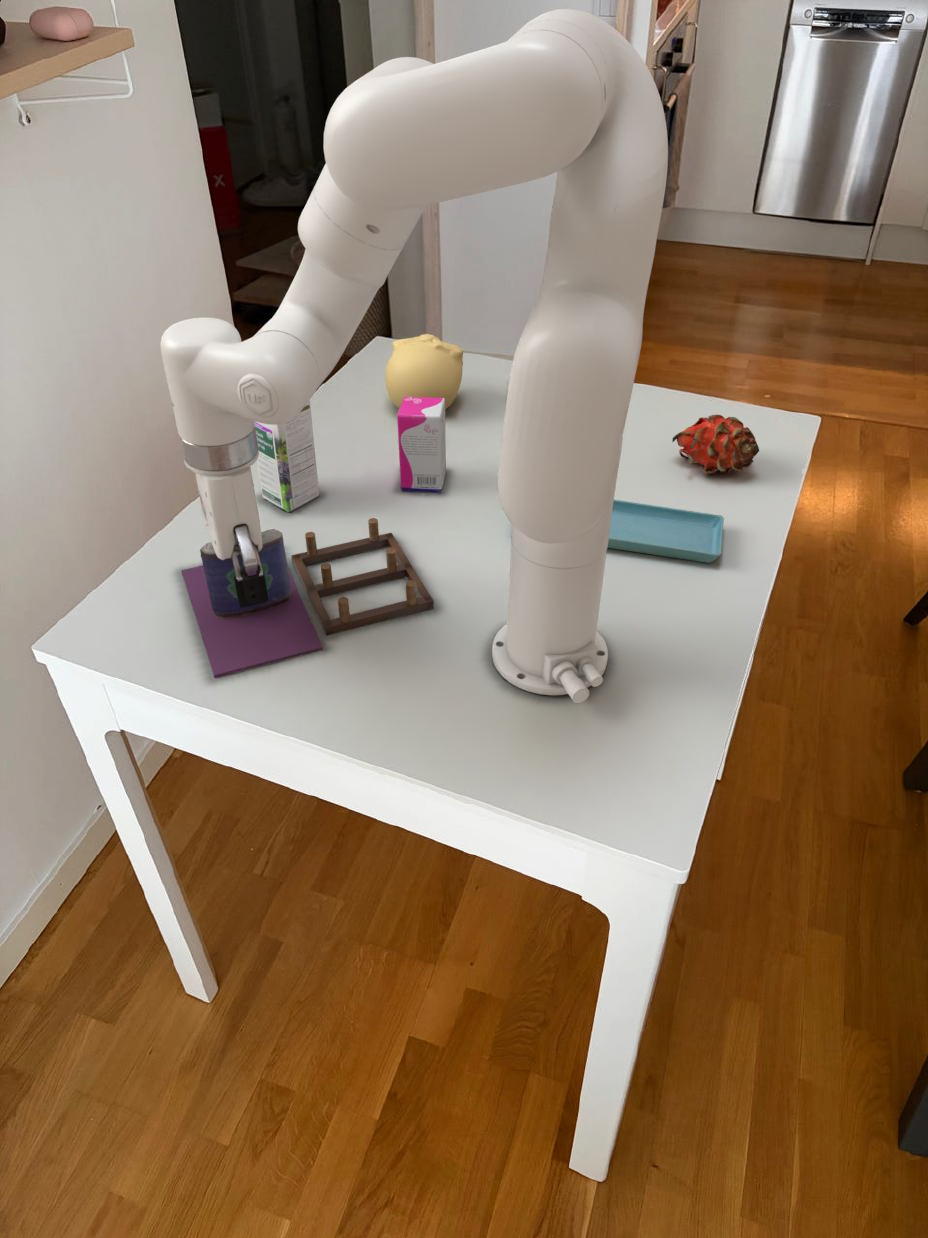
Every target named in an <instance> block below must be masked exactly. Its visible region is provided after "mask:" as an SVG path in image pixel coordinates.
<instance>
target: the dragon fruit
mask: <svg viewBox="0 0 928 1238" xmlns="http://www.w3.org/2000/svg"><path fill="white" fill-rule="evenodd" d="M671 440H672V443H674V442H675V441H676V442H677V446H678V447H680V449H679V450H678V454H679V455H680V457H681V458H683V459H684V461H685V462H687V463H688V465H691V464H698V465H700V466H703V474H705V475H710V474H714V473H716V472H717V471H719V472H720V474H729V473H732V471H733V470H734V471H737V472H738V471H739V472H741V471H743V470H744V468H749V467H750V466H752V465H753V463H754V460H753V459H754V457H755V456H757V454H758V453H759V452H760V447H759V444H758V443H757V442H758V441H757V440H756V437H755V435H754V433H753V432H752V430H751V429H750V428H749V427H748V426H746V427H744V423H743V422H742V421H741V420H740V419H739V418H737V417H736V416H728V417H724V416H723V415H721V414H711V415H709V416H708V417H699V418H698V420H697V421H696V422H695V423H694V424H692V425H690V426H688V427H686V428H685V429H684V430H681V431H680V432H678V433H677V434H675V435H674V436H673V437H672V439H671Z"/></svg>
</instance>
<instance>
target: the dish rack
mask: <svg viewBox="0 0 928 1238" xmlns="http://www.w3.org/2000/svg"><path fill="white" fill-rule="evenodd" d="M367 521H368V523H367V524H368V537H366V538H362V539H357V540H353V541H349V542H348V541H347V542H344V543H340V544H335V545H331V546H326V547H322V548H318V547H317V538H316V533H315V532H314V531H307V532H305V534H304V538H305V546H306V551H305V552H304V551H303V552H300V553H295V554H291V556H290V557H291V563H292V565H293V567H294V570H295V571H296V574H297V576H298V578H299V580H300V583H301V585H302V587H303V589H304V591H305V593H306V595H307V597H308V600H309V602H310V604H311V606H312V608H313V610H314V613H315V615H316V618H317V620H318V621H319V624H320V626H321V628H322V630H323V632H324V635H325V636H331V635H335V634H339V633H342V632H346V631H350V630H355V629H359V628H361V627H367V626H369V625H370V626H371V625H373V624H377V623H381V622H385V621H389V620H393V619H397V618H401V617H406V616H408V615H409V616H410V615H413V614H417V613H420V612H425V611H428V610H432V609H434V608H435V601H434V598H433V597H432V595H431V594H430V592H429V590H428V589H427V588H426V586H425V584H424V583H423V581H422V579H421V578H420V576H419V575H418V572H417V571H416V569H415V568H414V566H413V565H412V563H411V561H410V560H409V558H408V557H407V555H406V553H405V552H404V550H403V548H402V547H401V545H400V544H399V542H398V541H397V539H396V537H395V536H394V534H393V533H392V532H388V533H383V534H380V531H379V519H377V518H376V517H371V518H368V520H367ZM382 548H387V549H386V550H385V555H386V567H384V568H380V569H376V570H372V571H367V572H364V573H359V574H355V575H351V576H346V577H342V578H339V579H335V580H333V571H332V564H331V563H329V562H327V561H331V560H336V559H339V558H345V557H349V556H353V555H357V554H361V553H365V552H371V551H374V550H375V551H376V550H380V549H382ZM322 562H324V563H322ZM319 563H322V564H321V565H320V573H321V579H322V580H321V583H317V584H314V582H313V580H312V577H311V576H310V573H309V572H308V569H307V567H306V566H310V565H313V564H319ZM403 578H406V579H407V581H405V600H403V601H399V602H398V601H397V602H394V603H390V604H387V605H383V606H379V607H375V608H370V609H367V610H363V611H362V610H361V611H359V612H355V613H351V611H350V601H349V598H348V597H347V596H340V597H338V599H337V607H338V608H337V609H338V617H335V618H331V617H330V615H329V613H328V611H327V609H326V607H325V605H324V603H323V600H322V599H321V598H326V597H329V596H334V595H338V594H342V593H345V592H350V591H353V590H359V589H362V588H366V587H371V586H375V585H380V584H383V583H387V582H390V581H395V580H400V579H403Z"/></svg>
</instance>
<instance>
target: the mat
mask: <svg viewBox="0 0 928 1238" xmlns="http://www.w3.org/2000/svg"><path fill="white" fill-rule="evenodd" d="M287 569H288V567H287ZM181 574H182V577H183V581H184V583H185V587H186V589H187V594H188V597H189V600H190V603H191V606H192V610H193V613H194V616H195V620H196V622H197V626H198V629H199V632H200V635H201V638H202V642H203V645H204V649H205V652H206V655H207V658H208V661H209V664H210V668H211V671H212V673H213V677H214V678H220V677H223V676H227V675H231V674H234V673H238V672H242V671H245V670H250V669H254V668H258V667H262V666H265V665H268V664H269V665H270V664H273V663H277V662H280V661H285V660H288V659H293V658H295V657H296V658H297V657H300V656H305V655H308V654H311V653H314V652H319V651H322V650H324V646H323V644H322V641H321V639H320V637H319V635H318V632H317V631H316V628H315V626H314V624H313V622H312V619H311V617H310V615H309V613H308V611H307V609H306V606H305V604H304V602H303V600H302V597H301V595H300V593H299V591H298V588H297V586H296V583H295V582H294V580H293V577H292V574H291V573H290V571H289V569H288V576H289V582H290V588H291V596H290V599H289V600H288V601H285V602H284V603H282V604H280V605H276V606H274V607H270V608H266V609H263V610H259V611H256V612H254V613H250V614H246V615H241V616H235V617H230V618H218V617H216V616H215V614H214V612H213V610H212V606H211V601H210V597H209V591H208V586H207V581H206V576H205V573H204V568H203V565H198V566H194V567H190V568H189V567H188V568H184V569H182V570H181Z"/></svg>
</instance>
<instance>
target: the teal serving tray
mask: <svg viewBox="0 0 928 1238" xmlns="http://www.w3.org/2000/svg"><path fill="white" fill-rule="evenodd" d="M724 522H725V518H724V517H723V516H722V515H719V514H714V513H713V514H712V513H707V512H706V513H705V512H700V511H694V510H693V511H692V510H686V509H679V508H673V507H668V506H667V507H666V506H659V505H652V504H646V503H640V502H633V501H626V500H620V499H614V502H613V509H612V516H611V524H610V532H609V540H608V547H607V549H608V548H609V549H614V550H623V551H626V552H627V551H628V552H635V553H641V554H649V555H654V556H662V557H666V558H667V557H668V558H673V559H680V560H686V561H687V560H688V561H694V562H700V563H705V564H711V563H712V562H713V561H715V560H717V559H718V558H719V557H720V556H721V555H722V551H723V550H722V549H723V533H724Z"/></svg>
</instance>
